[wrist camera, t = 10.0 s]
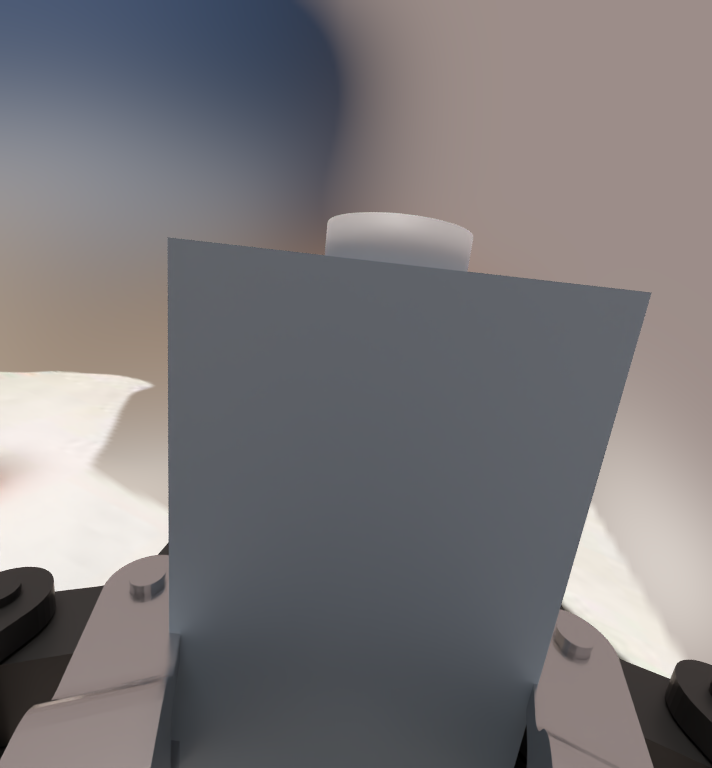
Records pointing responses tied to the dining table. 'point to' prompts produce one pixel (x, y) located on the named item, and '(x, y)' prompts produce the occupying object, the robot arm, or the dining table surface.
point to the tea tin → (376, 492)
